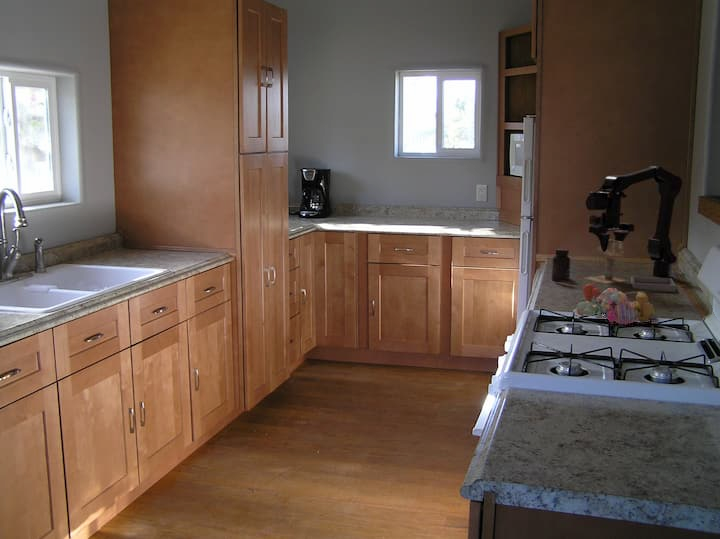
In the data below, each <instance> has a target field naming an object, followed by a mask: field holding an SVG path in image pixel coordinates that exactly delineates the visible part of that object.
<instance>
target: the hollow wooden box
mask: <svg viewBox="0 0 720 539" xmlns="http://www.w3.org/2000/svg"><path fill="white" fill-rule="evenodd" d="M597 255H602V256H603V255H604V256H608V257H612V256H613V257H623V256H624V241H616V240H615V239H609V241H608V245H607V249H606V251H605V252H603V251H602V248H601V244H600V241H599V240H598V242H597Z"/></svg>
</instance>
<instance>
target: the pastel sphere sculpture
mask: <svg viewBox="0 0 720 539" xmlns="http://www.w3.org/2000/svg"><path fill="white" fill-rule="evenodd" d="M582 292H583V294H584V296H583V297H585V301H579V302H578V303H577V305H576V308H573V309H572V311H574V312H575V313H576V315H577V314H578V315H581V316H592V315H595V314H596V313H597V315H596V316H595V317H596V318H601V319H602V317H603V319H604V318H606V315H604V316H602V314H603V313H604V314H605V313H606V314H607V316H608V318H607V319H608V320H609V321H610V322H611V323H610V324H614V323H613V322H614V321H615V320H616V323H618V325H620V326H622V325H625V326H626V325H631V324H630V323H633V322H637V321H642V322H647V321H648V320H649V319H648V318H652V320H653V319H656V318H657V317H658V316H657V315H656V314H654V313H655V309H654V305H653V304H651V303H650V302H649V297H648V294H646V293H645V292H644V291H638V292H637V293H636V295H635V299H636V300H634V301H630V300H628V296H627V295H626V294H625V293H624V292H622V291H619V290H618V289H617V288H612V287H609V288H607V289H605V290H604V291H603V292H602V293H601V290H600V288H597V287H596V285H595V284H593V283H587V284H585V285H584V287H583V289H582ZM593 298H594V300H595V301H594V303H595V304H593V303H592V299H593ZM601 313H602V314H601ZM613 314H614V315H613ZM615 314H616V316H615ZM633 318H634V319H633ZM616 323H615V324H616ZM628 323H629V324H628Z"/></svg>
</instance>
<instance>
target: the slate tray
mask: <svg viewBox="0 0 720 539" xmlns="http://www.w3.org/2000/svg"><path fill="white" fill-rule="evenodd" d="M636 282H637V283H636ZM638 282H639V283H638ZM640 282H641V283H640ZM630 283H631V285H632V289H638V290H637V291H638V292H657V293H659V292H660V293H661V292H662V293H676V290H677V289H676V288H677V285H676V283H675V282H674V280H673V278H660V277H653V276H652V277H650V276H649V277H648V276H630ZM654 283H655V284H654Z"/></svg>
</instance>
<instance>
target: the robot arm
mask: <svg viewBox="0 0 720 539" xmlns="http://www.w3.org/2000/svg"><path fill="white" fill-rule="evenodd" d="M651 179H652V180H653V181H654V182H655V183H656V184H658V186H657V187H658V190H657V191H658V193H659V196H660V204H659V208H658V215H657V222H656V228H655V233H654V236H653V237H652V238H648V240H647V243H648V244H647V246H646V250H647V253H648V255H649V259H650V260H651V261H653V269H652V274H650V275H649V277H650V276H652V277H654V278H671V279H673V278H675V277H674V276H673V275H671V273H672V264H675V263H676V261H677V259H678V258H677V256H676V255H675V253H673V251H672V243H671V241H672V240H671V239H670V230H671V224H672V217H673V214H674V213H673V212H674V206H675V200H676V198H677V197H678V195H679V194H680V193H681V189H682V186H683V179H682V178H681V177H680V176H679V175H675V174H674V173H672V172H670V171H668V170H666V169H665V168H663V167H662V166H659V165H651V166H649V167H647V168H643V169H639V170H637V171H633V172H630V173H627V174H614V175H608V176H606V177H605V179H604V181H603V183H602V184H601V186H600V188H599V189H598V191H597V192H595V191H589V195H587V197H586V200H585V207H586V209H587V210H588V211H603V212H601V216H597V215H596V214H595V215H590V216H589V222H588V223H589V224H590V226H589V227H588V233H591V234H593V235H595V236H596V237H597V238H598V241H600V244H601V248H602V251H603V252H605V251H606V249H607V245H608V241H609V240H610V237H611V233H610V234H609V233H608V232H612V233H613V235H614V240H616V241H623V242H624V241H625V240H626V238H627V236H628V235H630V233H631V232H635V225H634V223H630V222H621V217H623V216H624V212H621V211H622V200H623V198H624V199H625V198H627V197H628V196H627V194H626V193H624V191H625V190H628V189H629V188H630V187H631V186H633V185H635V184H638V183H642V182H644V181H645V182H646V181H648V180H651Z"/></svg>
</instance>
